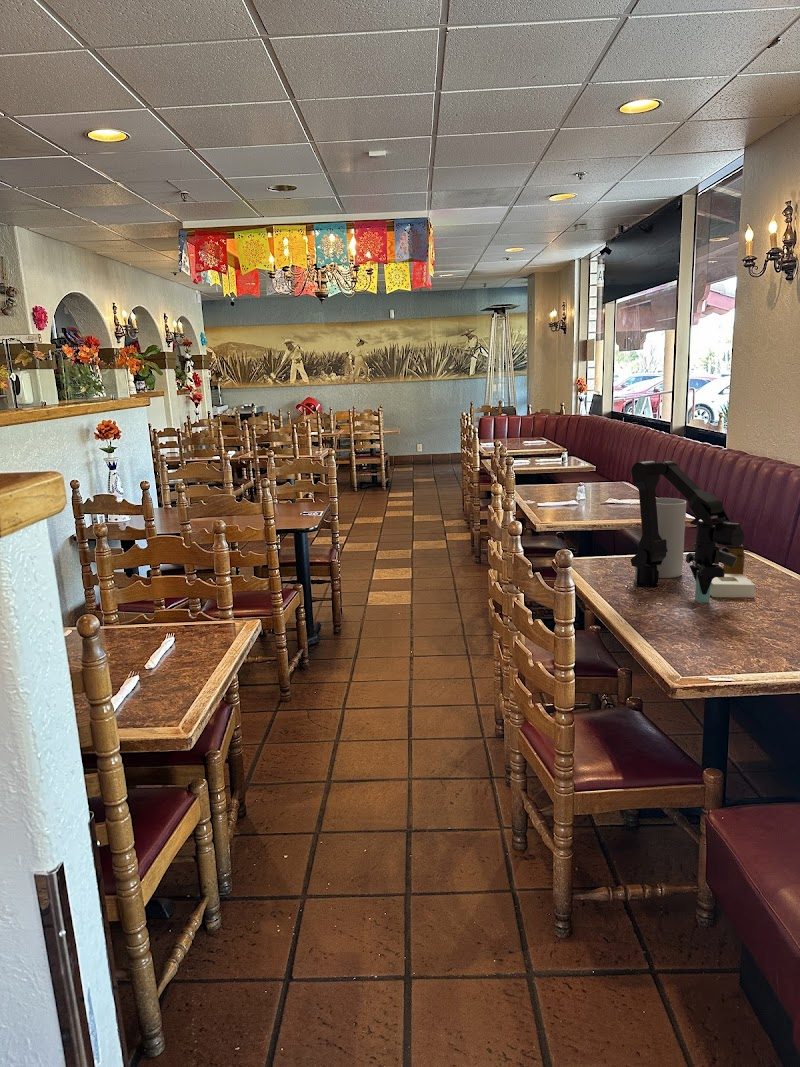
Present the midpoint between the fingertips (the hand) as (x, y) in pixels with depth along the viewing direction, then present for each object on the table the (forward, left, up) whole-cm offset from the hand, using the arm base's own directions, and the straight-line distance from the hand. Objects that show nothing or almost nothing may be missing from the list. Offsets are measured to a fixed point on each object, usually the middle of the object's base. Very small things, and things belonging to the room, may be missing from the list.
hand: (702, 592), depth 217 cm
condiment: (+16, +22, -3) cm, 27 cm away
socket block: (+10, +10, -2) cm, 14 cm away
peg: (0, 0, -2) cm, 2 cm away
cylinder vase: (-5, +30, -3) cm, 31 cm away
